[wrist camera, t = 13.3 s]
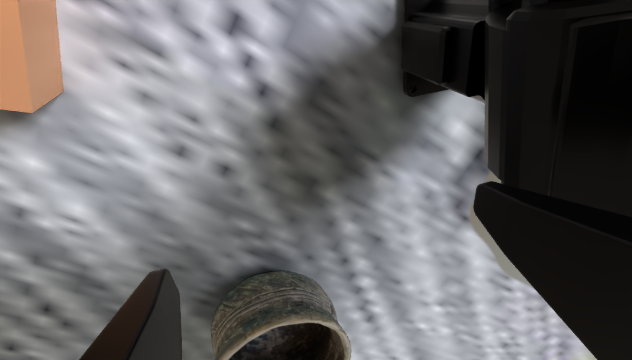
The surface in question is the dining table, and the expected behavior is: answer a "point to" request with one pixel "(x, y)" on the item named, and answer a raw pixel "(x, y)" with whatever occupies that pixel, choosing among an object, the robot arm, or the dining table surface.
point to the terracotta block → (29, 54)
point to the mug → (278, 321)
